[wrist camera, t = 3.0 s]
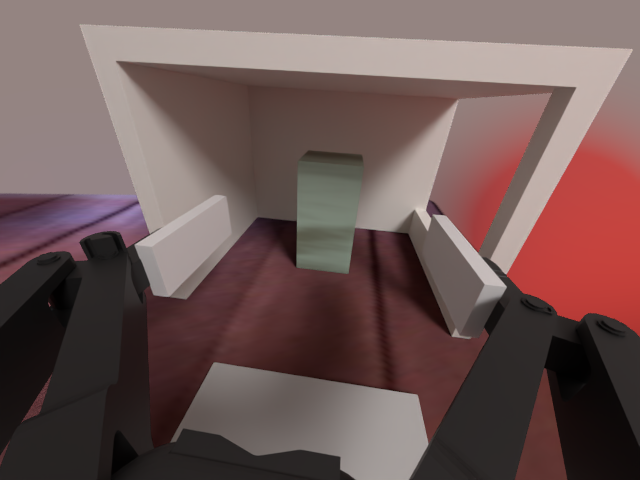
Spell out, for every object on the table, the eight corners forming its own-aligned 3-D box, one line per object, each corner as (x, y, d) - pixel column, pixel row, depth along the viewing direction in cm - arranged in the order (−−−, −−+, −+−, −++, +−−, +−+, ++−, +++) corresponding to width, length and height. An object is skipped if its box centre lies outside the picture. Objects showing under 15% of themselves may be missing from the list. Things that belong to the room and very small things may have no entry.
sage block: (348, 273, 27) (364, 166, 21) (296, 267, 28) (297, 160, 22) (349, 246, 32) (362, 154, 26) (305, 241, 33) (308, 150, 27)
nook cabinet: (469, 339, 20) (633, 49, 11) (171, 297, 22) (79, 24, 13) (416, 230, 38) (458, 84, 28) (252, 212, 40) (239, 71, 30)
